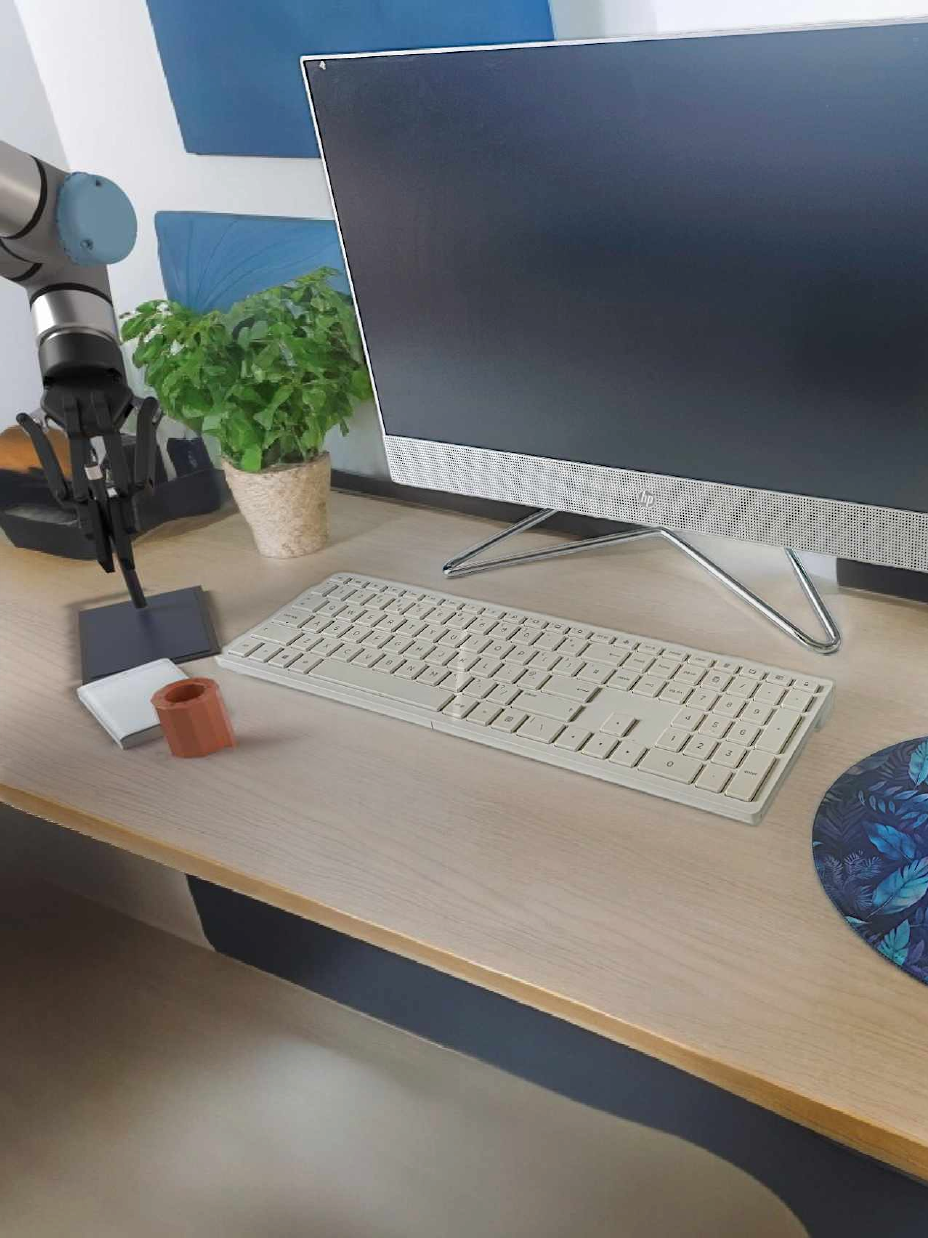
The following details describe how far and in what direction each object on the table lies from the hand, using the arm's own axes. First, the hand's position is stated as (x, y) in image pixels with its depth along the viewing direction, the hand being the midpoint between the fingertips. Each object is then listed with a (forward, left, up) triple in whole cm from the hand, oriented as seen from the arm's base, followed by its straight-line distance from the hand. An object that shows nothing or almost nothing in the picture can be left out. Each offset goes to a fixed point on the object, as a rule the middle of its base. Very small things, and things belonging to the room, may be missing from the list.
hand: (117, 565), depth 115 cm
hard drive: (+5, -17, -8) cm, 19 cm away
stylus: (-1, +4, -6) cm, 7 cm away
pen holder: (+12, -26, -7) cm, 30 cm away
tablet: (+1, -1, -7) cm, 7 cm away
